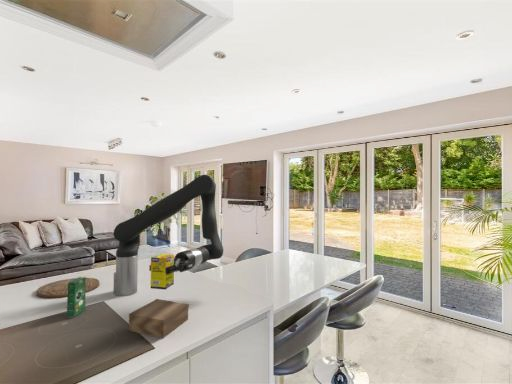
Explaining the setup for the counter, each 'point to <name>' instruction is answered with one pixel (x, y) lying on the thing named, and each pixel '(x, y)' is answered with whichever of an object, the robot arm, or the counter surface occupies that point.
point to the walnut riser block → (158, 318)
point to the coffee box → (76, 297)
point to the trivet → (63, 288)
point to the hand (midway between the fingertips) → (158, 269)
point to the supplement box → (161, 271)
